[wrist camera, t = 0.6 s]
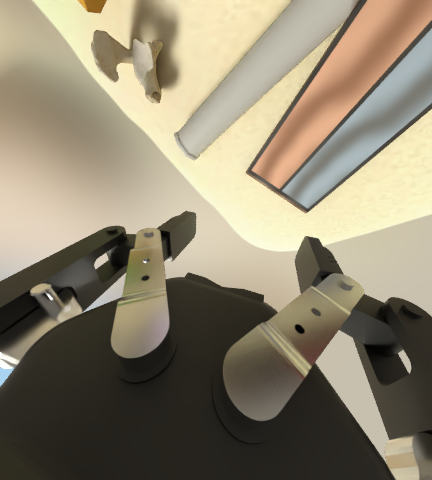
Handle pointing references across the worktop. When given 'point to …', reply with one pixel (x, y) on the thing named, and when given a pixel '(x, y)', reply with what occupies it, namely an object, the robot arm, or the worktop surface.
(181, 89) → the worktop surface
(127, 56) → the squirrel figurine
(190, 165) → the worktop surface
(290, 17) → the tube
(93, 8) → the decorative tree
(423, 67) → the picture board
